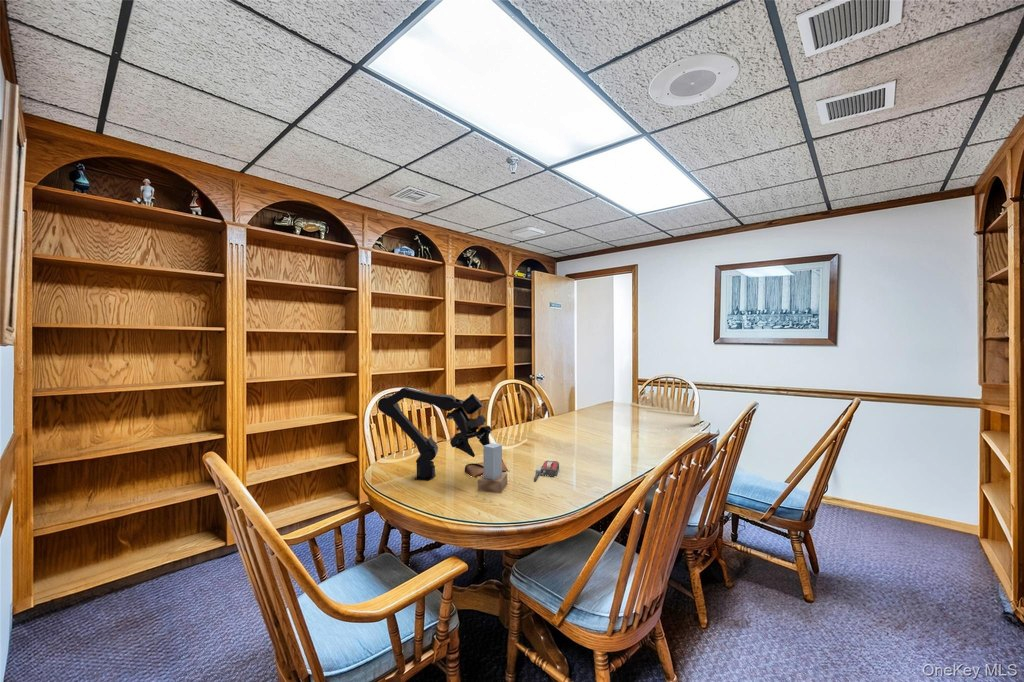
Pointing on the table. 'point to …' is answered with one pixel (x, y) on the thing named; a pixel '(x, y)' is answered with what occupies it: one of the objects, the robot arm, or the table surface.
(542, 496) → the table surface
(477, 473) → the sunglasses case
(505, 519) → the table surface
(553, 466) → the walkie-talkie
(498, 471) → the slate block
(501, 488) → the walnut base
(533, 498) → the table surface
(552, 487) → the table surface
